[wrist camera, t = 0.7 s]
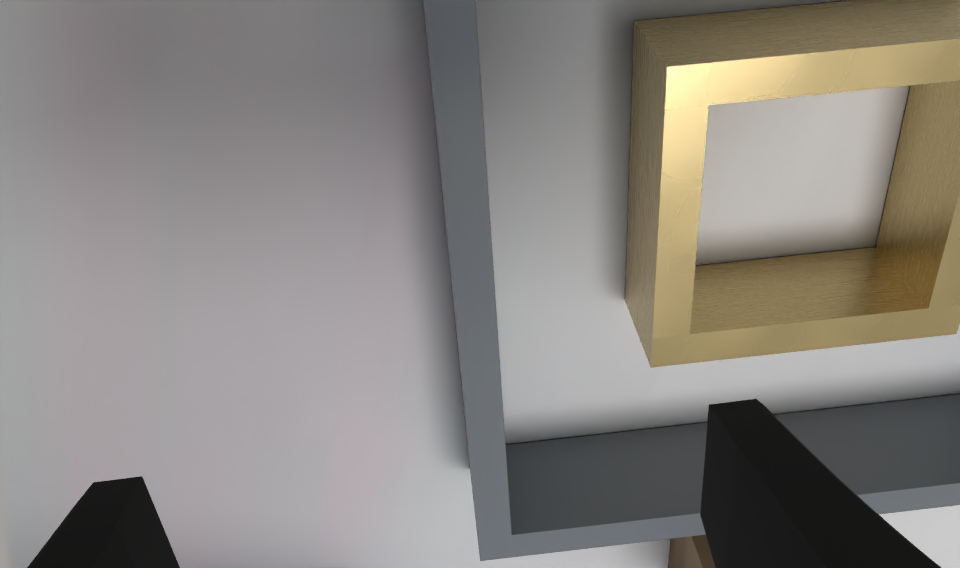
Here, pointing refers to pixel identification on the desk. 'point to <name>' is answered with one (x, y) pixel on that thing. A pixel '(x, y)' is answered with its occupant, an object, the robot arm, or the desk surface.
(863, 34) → the frame
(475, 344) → the walled box
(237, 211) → the desk surface
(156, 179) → the desk surface
